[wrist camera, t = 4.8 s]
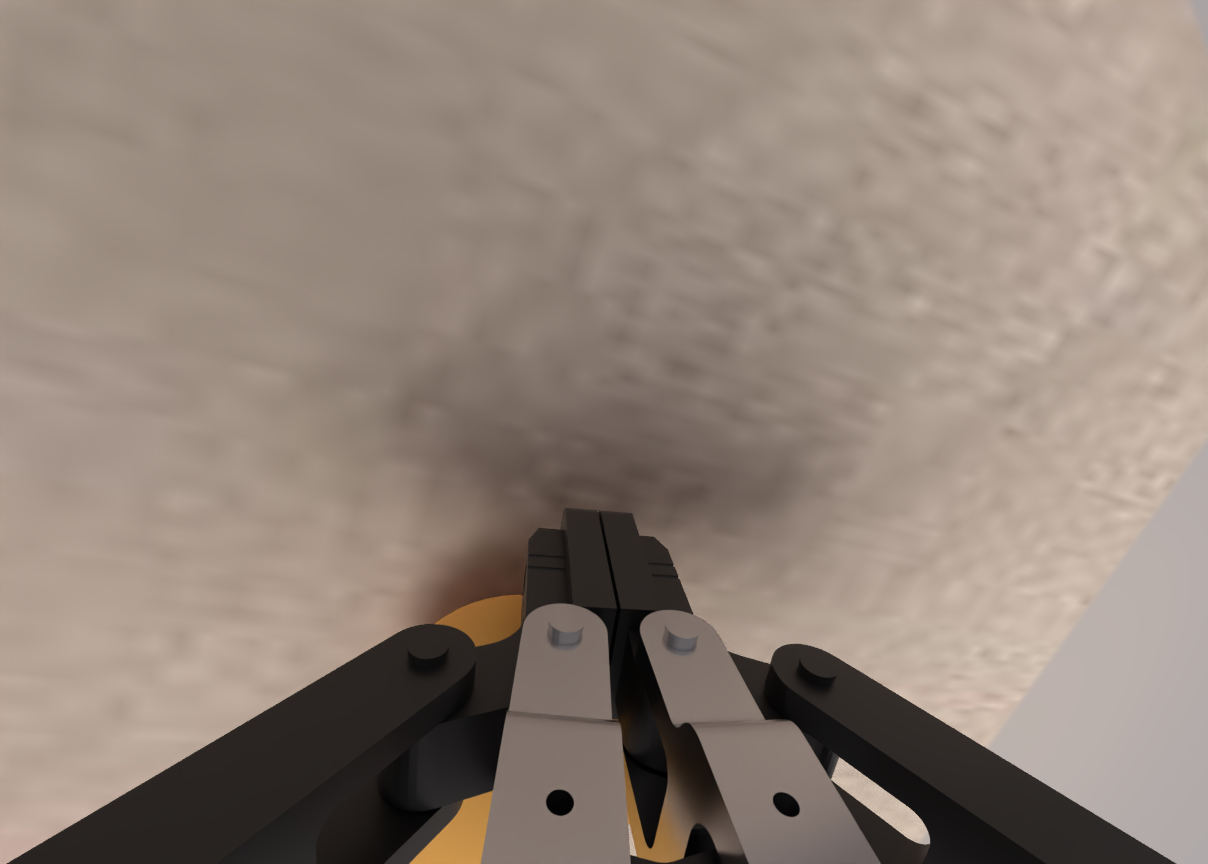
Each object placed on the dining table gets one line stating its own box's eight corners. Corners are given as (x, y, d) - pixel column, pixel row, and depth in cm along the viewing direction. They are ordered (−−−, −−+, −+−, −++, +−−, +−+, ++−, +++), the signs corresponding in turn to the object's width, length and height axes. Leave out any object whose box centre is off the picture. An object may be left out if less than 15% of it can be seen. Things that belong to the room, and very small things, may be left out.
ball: (411, 533, 14) (325, 739, 8) (647, 559, 15) (714, 759, 9) (392, 722, 16) (312, 995, 10) (604, 734, 17) (637, 989, 11)
